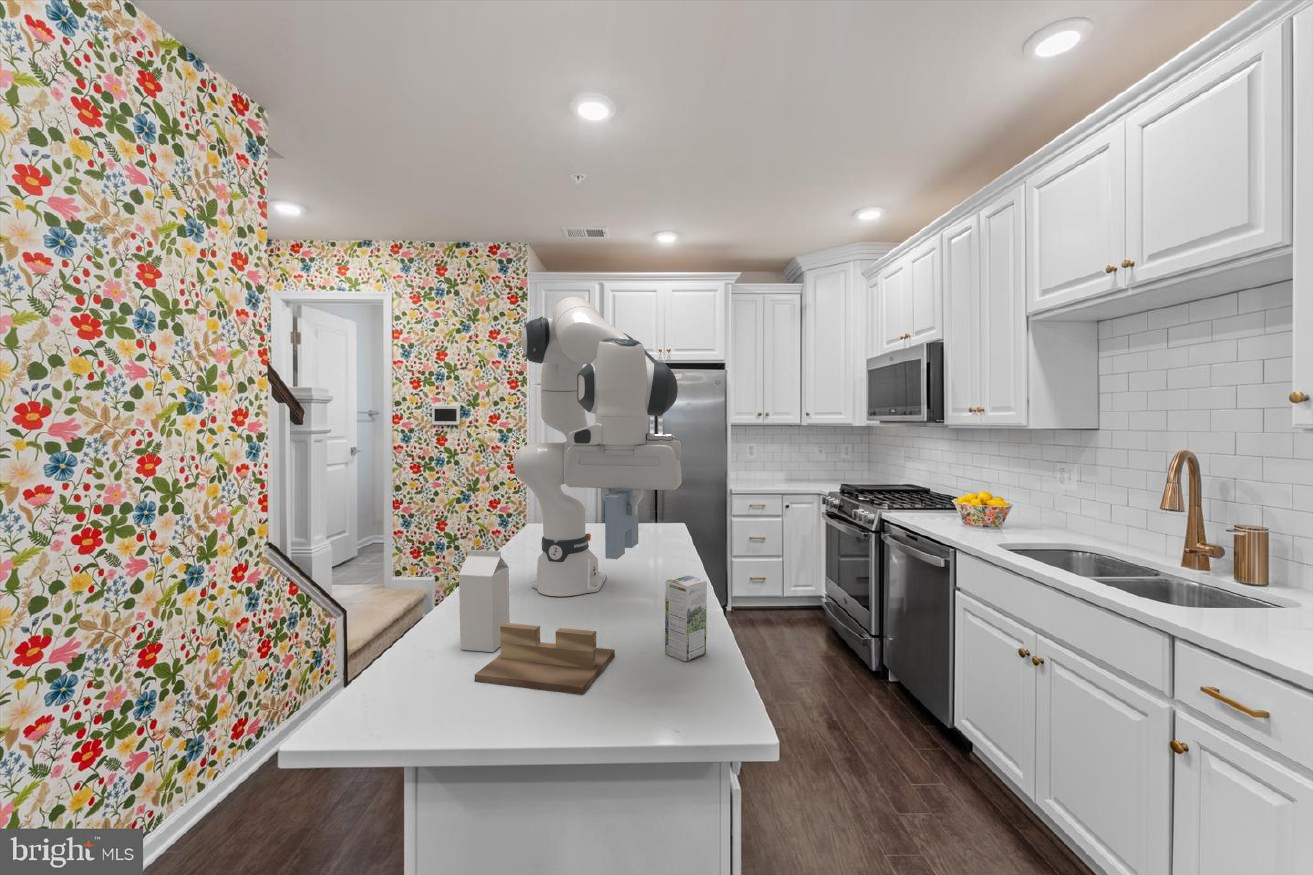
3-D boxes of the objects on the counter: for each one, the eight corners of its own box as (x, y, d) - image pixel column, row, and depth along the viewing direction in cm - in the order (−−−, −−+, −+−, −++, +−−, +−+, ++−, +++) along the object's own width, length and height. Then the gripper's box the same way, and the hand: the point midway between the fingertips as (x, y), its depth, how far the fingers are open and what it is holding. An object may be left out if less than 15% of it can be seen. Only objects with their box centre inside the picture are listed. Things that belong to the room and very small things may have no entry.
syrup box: (684, 645, 115) (684, 573, 114) (707, 654, 111) (707, 579, 110) (664, 654, 111) (664, 579, 110) (687, 663, 107) (686, 585, 106)
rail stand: (519, 645, 115) (519, 610, 115) (614, 655, 110) (614, 618, 110) (474, 681, 100) (473, 639, 100) (582, 694, 95) (582, 651, 95)
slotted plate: (627, 542, 105) (627, 487, 105) (638, 543, 104) (638, 487, 104) (605, 558, 93) (604, 496, 93) (617, 559, 93) (616, 497, 92)
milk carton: (493, 653, 112) (491, 555, 112) (460, 650, 114) (458, 554, 113) (510, 639, 119) (508, 547, 118) (478, 637, 120) (476, 546, 120)
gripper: (685, 433, 99) (686, 514, 99) (573, 432, 104) (574, 509, 104) (677, 434, 93) (678, 520, 93) (559, 434, 98) (560, 515, 98)
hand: (622, 514), depth 99 cm, fingers closed on slotted plate, 2 cm apart
